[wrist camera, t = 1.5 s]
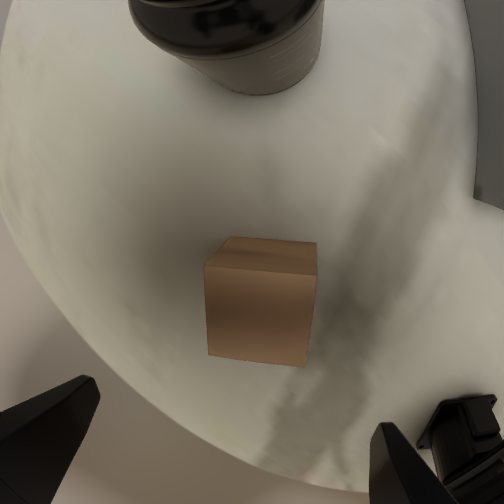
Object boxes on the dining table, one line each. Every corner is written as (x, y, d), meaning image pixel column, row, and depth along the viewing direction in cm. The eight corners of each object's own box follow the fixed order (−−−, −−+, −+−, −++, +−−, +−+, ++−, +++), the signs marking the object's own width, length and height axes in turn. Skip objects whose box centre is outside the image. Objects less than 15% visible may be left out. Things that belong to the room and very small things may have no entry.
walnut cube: (308, 317, 19) (305, 367, 14) (231, 310, 20) (208, 355, 15) (316, 242, 18) (317, 275, 13) (231, 236, 18) (203, 265, 14)
